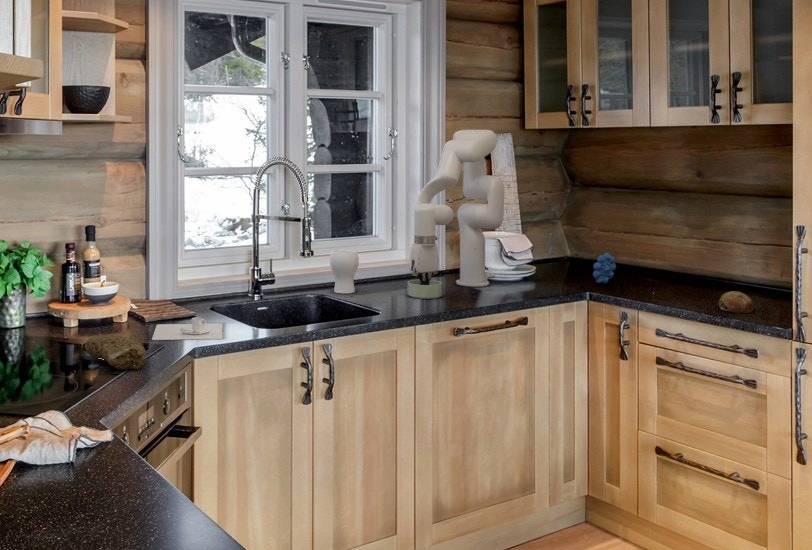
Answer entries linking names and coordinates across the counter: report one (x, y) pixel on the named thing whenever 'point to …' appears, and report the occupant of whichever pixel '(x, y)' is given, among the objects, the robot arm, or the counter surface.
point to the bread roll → (736, 302)
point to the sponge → (116, 350)
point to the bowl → (424, 289)
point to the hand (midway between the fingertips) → (424, 291)
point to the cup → (344, 269)
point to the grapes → (604, 268)
